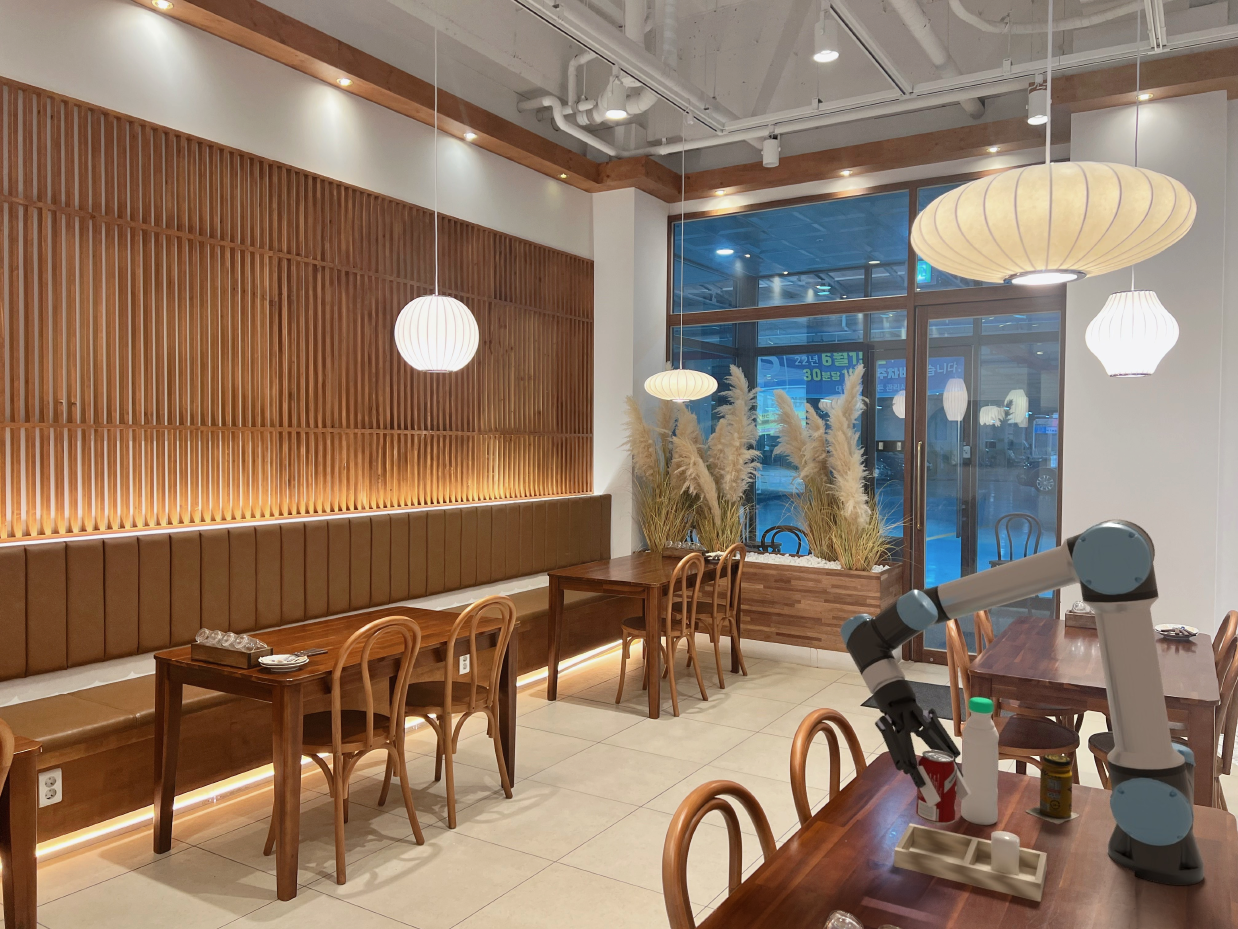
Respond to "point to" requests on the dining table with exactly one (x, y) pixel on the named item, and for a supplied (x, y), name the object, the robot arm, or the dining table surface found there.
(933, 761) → the soda can
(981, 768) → the water bottle
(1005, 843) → the salt shaker
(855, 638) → the robot arm
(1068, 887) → the dining table surface
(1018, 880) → the drink caddy
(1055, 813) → the condiment
